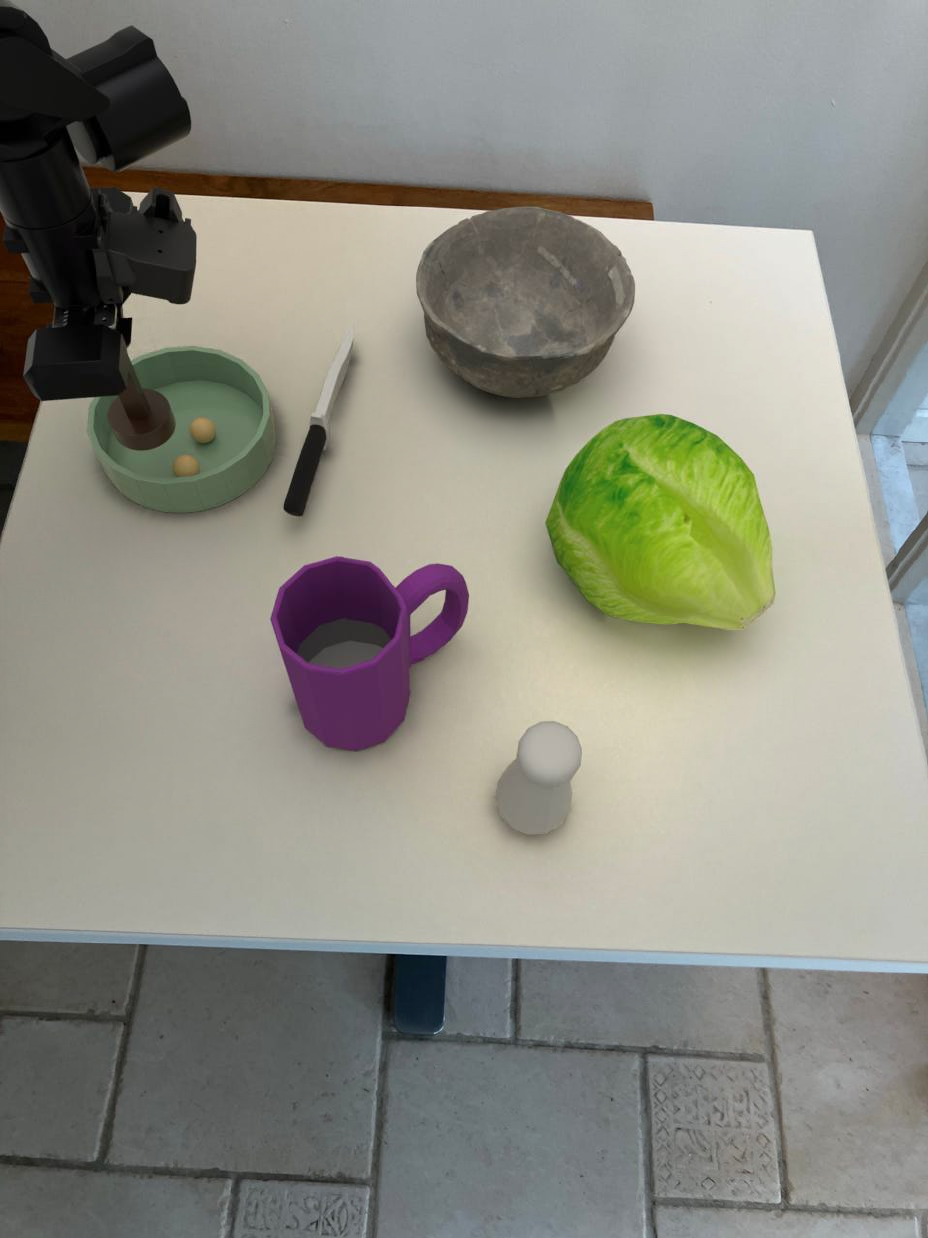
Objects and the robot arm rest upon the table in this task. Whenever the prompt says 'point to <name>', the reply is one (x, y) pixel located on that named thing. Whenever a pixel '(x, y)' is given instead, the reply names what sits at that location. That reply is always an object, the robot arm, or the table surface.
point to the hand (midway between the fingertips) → (120, 373)
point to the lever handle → (141, 416)
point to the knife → (318, 431)
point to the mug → (359, 643)
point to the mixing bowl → (192, 391)
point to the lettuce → (664, 526)
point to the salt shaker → (540, 779)
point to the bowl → (523, 299)
